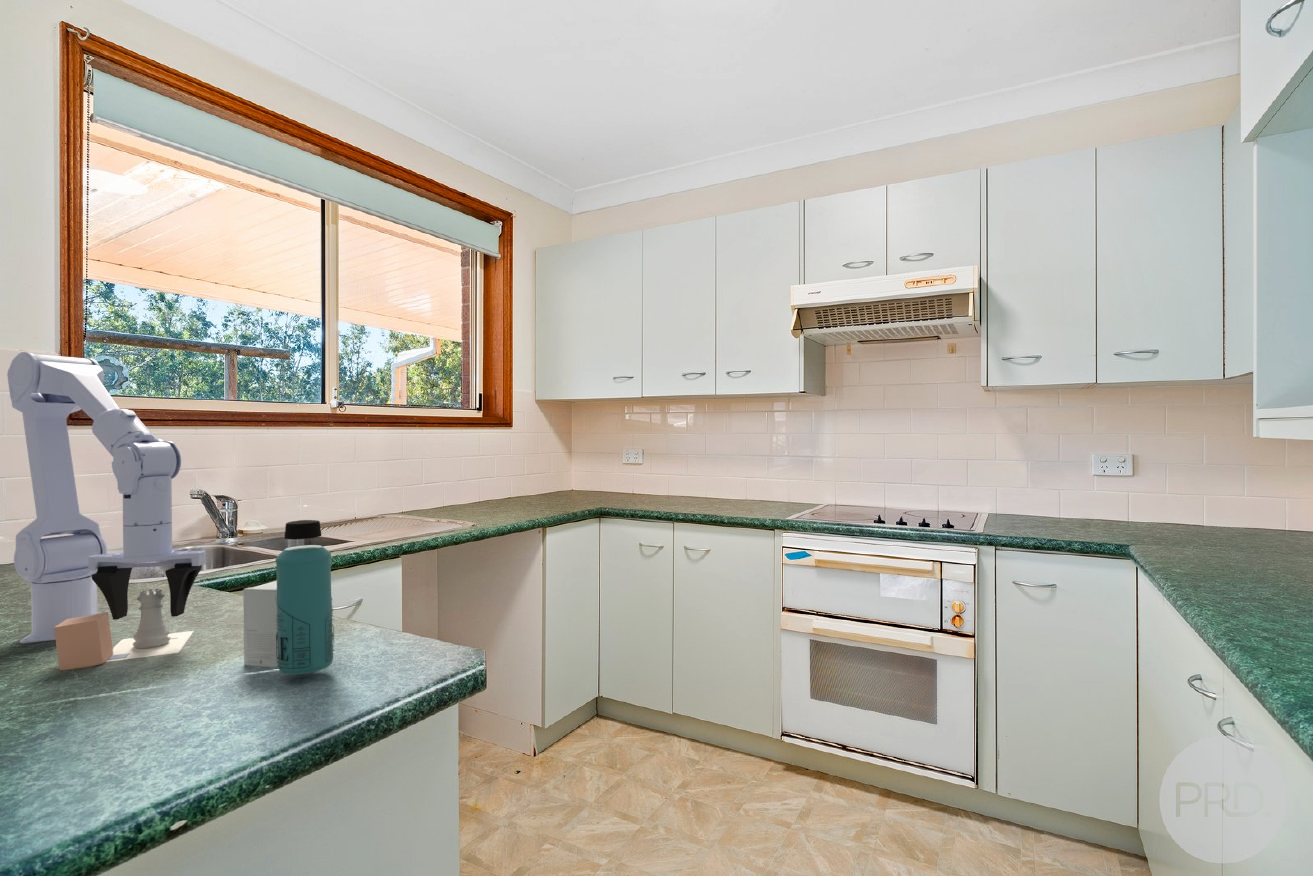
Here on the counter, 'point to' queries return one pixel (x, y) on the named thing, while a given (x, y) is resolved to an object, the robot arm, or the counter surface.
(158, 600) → the rook chess piece
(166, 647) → the letter
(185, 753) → the counter surface
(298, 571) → the beverage bottle
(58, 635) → the block
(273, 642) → the small box
